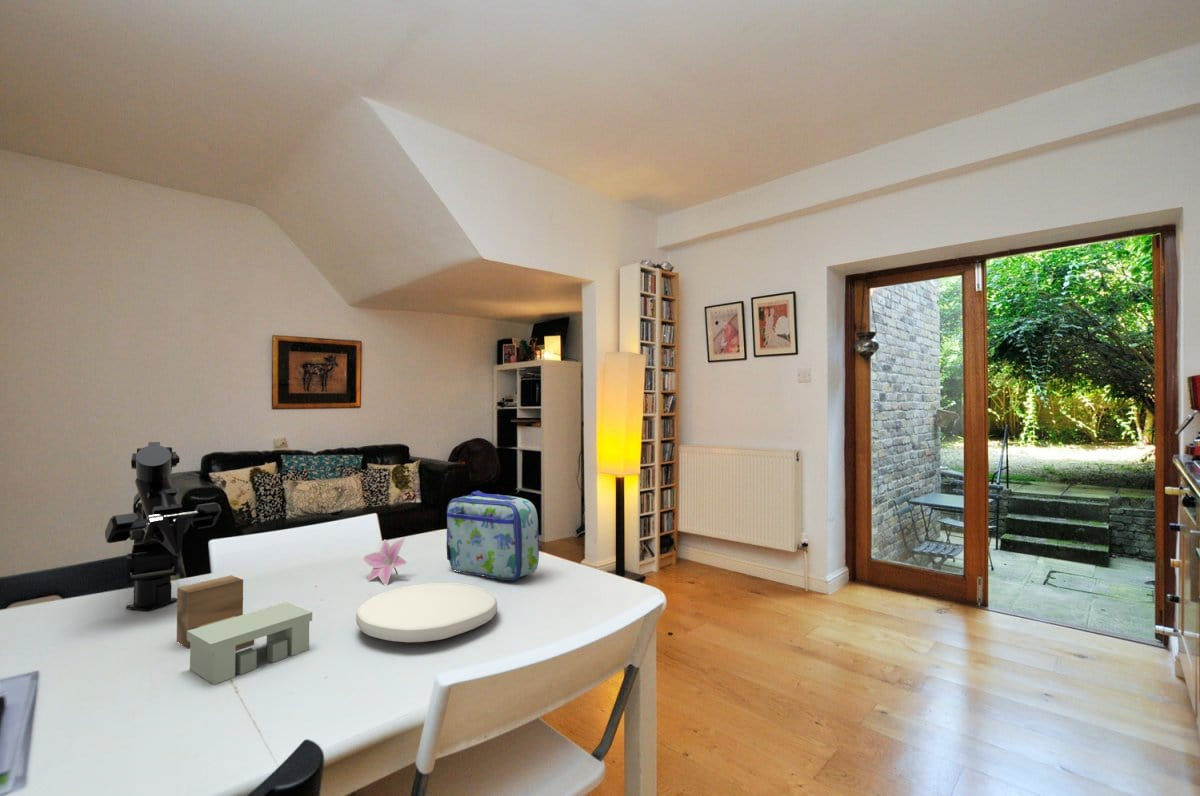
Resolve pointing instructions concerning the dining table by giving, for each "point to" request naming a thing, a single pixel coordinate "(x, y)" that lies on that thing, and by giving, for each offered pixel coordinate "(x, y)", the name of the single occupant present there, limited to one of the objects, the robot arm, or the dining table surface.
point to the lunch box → (492, 535)
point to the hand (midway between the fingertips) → (177, 554)
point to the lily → (385, 560)
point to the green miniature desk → (219, 639)
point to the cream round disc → (426, 612)
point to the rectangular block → (208, 605)
